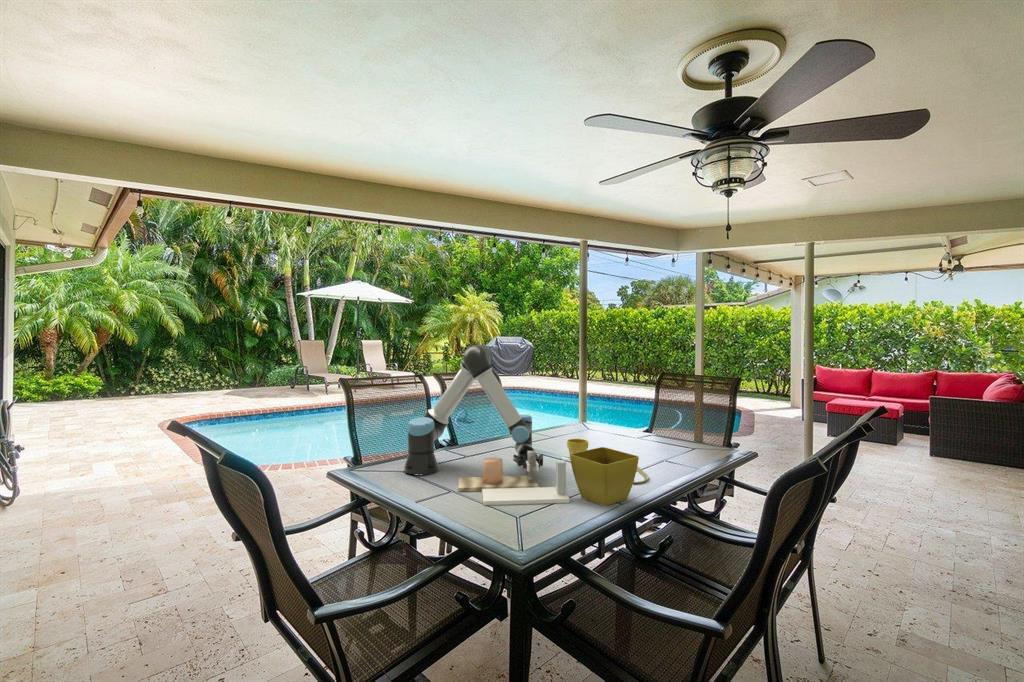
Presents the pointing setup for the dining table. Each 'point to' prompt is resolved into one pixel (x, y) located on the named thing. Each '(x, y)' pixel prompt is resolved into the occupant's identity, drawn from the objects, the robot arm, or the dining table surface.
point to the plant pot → (577, 445)
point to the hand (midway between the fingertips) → (533, 468)
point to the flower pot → (604, 474)
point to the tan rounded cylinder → (493, 470)
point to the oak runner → (508, 481)
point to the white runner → (530, 492)
